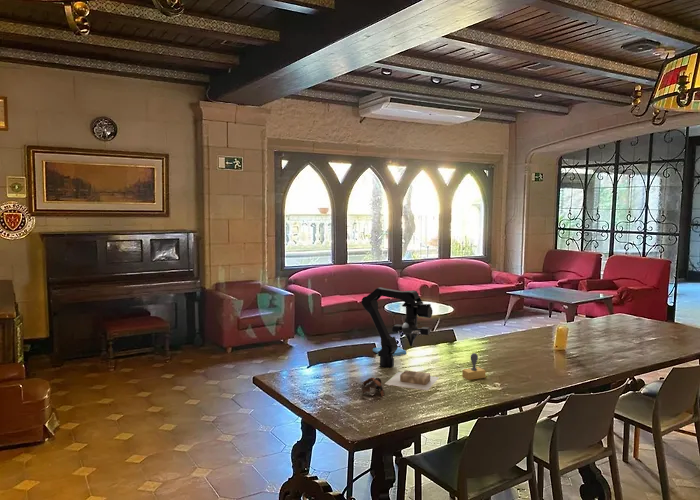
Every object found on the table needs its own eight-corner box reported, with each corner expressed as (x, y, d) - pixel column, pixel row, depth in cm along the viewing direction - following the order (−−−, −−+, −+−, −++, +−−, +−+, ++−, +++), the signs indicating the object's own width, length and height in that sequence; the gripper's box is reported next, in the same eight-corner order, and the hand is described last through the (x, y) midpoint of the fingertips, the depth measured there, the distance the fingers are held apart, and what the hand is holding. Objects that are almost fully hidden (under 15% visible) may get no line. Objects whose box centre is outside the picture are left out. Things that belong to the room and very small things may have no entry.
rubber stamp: (468, 380, 254) (469, 355, 253) (461, 376, 259) (462, 352, 258) (485, 377, 258) (486, 353, 257) (478, 374, 263) (479, 350, 262)
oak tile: (400, 375, 250) (425, 378, 244) (405, 370, 257) (430, 373, 252) (400, 381, 250) (425, 385, 245) (405, 376, 257) (430, 380, 252)
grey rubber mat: (384, 384, 247) (384, 383, 247) (398, 372, 265) (398, 371, 265) (427, 391, 238) (427, 390, 238) (439, 378, 256) (439, 377, 256)
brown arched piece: (382, 400, 229) (372, 384, 228) (365, 406, 233) (355, 390, 232) (390, 385, 239) (381, 370, 238) (373, 390, 244) (364, 376, 243)
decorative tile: (384, 358, 293) (384, 354, 292) (372, 352, 305) (372, 348, 305) (406, 355, 299) (406, 351, 299) (394, 349, 311) (394, 345, 311)
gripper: (388, 317, 262) (388, 348, 263) (424, 320, 254) (424, 352, 255) (396, 313, 272) (395, 342, 273) (431, 316, 264) (430, 346, 265)
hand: (411, 346), depth 266 cm, fingers closed
